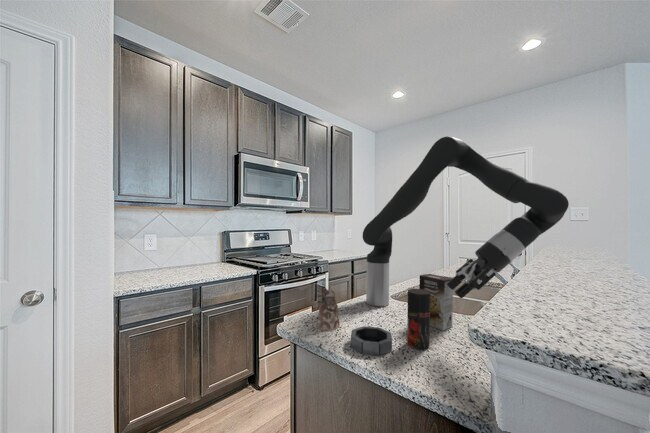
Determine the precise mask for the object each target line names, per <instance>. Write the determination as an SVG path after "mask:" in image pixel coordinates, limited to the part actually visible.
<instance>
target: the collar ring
mask: <svg viewBox="0 0 650 433" xmlns="http://www.w3.org/2000/svg"><path fill="white" fill-rule="evenodd" d="M350 334H351V335H350V348H351V349H353V350H355V351H356V352H358V353H359V354H362V355H367V356H368V355H370V356H378V357H379V356H382V355H386V354H388V353H391V352H392V351H393V337H392V333H391V332H390V331H388V330H387V329H383V328H381V327H376V326H375V327H374V326H361V327H357V328H353V329H351V333H350Z"/></svg>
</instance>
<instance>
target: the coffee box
mask: <svg viewBox="0 0 650 433" xmlns="http://www.w3.org/2000/svg"><path fill="white" fill-rule="evenodd" d="M453 278H454V277H448V276H443V275H439V274H438V275H437V274H433V273H425V274H421V275H419V288H418V289H423V290H427V291H429V292H430V327H432V328H435V329H438V330H441V331H445V330H447V329H450V328H452V327H453V314H454V313H453V312H454V311H453V309H454V305H453V304H454V303H453V302H454V289H453V290H452V289H451V288H450V287H449V286H448V285H447V283H448V282H449V281H450V280H451V279H453Z"/></svg>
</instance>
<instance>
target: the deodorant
mask: <svg viewBox="0 0 650 433" xmlns="http://www.w3.org/2000/svg"><path fill="white" fill-rule="evenodd" d="M406 324H407V326H406V327H407V330H406V331H407V333H406V334H407V335H406V336H407V337H406V338H407V339H406V344H407V346H408V347H410V348H411V349H415V350H419V351H425V350H426V351H427V350H428V349H430V340H431V339H430V336H431V335H430V330H431V329H430V327H431V326H430V292H429V291H427V290H423V289H419V288H409V289H408V290H407V323H406Z"/></svg>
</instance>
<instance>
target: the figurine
mask: <svg viewBox="0 0 650 433" xmlns="http://www.w3.org/2000/svg"><path fill="white" fill-rule="evenodd" d="M321 300H322V301H321V302H322V303H321V304H320V305H319V308H318V315H317V321H316V322H317V325H316V326H317V328H318V329H319V330H322V331H327V332H328V331H329V332H332V331H336V330H338V329H339V328H340V317H339V307H338V303H337V299H336V293H335V292H334V291H333V290H332V289H327V288H326V287H324V288H323V295H322V297H321Z"/></svg>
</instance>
